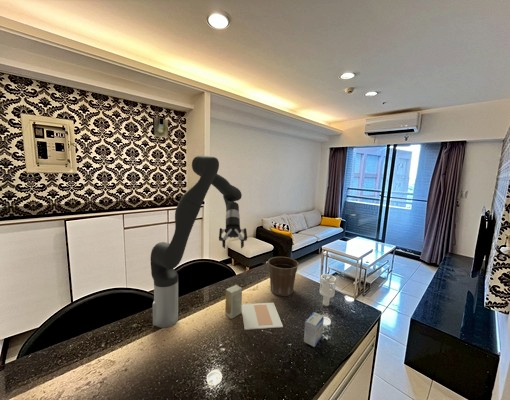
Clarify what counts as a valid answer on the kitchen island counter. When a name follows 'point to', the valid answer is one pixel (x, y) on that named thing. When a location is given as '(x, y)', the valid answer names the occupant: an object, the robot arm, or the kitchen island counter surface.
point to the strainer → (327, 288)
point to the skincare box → (233, 301)
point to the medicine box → (313, 329)
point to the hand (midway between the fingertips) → (233, 247)
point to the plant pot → (282, 275)
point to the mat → (260, 316)
